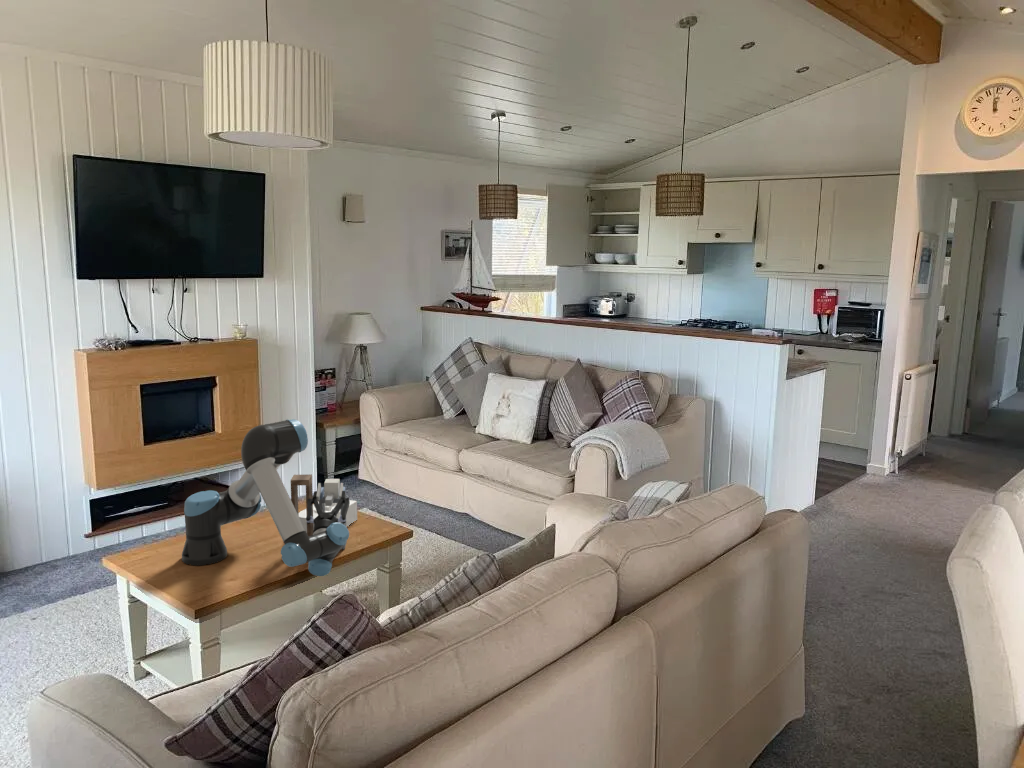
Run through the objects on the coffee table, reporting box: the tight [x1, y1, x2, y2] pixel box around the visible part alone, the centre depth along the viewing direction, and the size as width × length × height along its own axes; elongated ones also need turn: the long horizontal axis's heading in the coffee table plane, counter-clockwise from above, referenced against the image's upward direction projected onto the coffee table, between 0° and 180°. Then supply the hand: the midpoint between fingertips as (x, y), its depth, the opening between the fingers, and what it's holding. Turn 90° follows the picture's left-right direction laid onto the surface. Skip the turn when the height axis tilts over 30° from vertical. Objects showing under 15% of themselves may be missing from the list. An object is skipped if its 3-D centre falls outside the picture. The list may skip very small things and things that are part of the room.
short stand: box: [318, 486, 348, 550], centre depth 288 cm, size 9×7×22 cm
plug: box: [323, 478, 341, 506], centre depth 282 cm, size 5×14×6 cm, turn 6°
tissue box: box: [298, 499, 358, 533], centre depth 308 cm, size 14×25×11 cm, turn 163°
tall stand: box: [290, 474, 314, 536], centre depth 283 cm, size 6×7×28 cm
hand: (330, 485), depth 283 cm, fingers open, 7 cm apart
